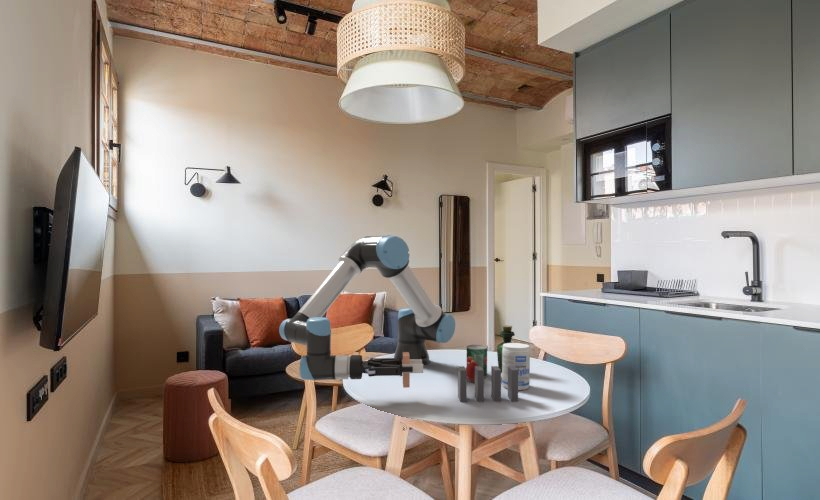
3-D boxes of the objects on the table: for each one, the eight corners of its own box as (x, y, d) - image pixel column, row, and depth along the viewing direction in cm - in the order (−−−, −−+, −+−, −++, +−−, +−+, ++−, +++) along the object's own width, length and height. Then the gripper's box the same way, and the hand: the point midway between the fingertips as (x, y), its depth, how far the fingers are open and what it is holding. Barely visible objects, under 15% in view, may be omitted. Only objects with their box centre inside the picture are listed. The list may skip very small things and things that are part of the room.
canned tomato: (491, 376, 177) (491, 347, 177) (475, 379, 173) (475, 349, 173) (478, 371, 184) (478, 343, 184) (462, 374, 180) (462, 346, 180)
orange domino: (403, 387, 147) (403, 355, 147) (402, 382, 152) (402, 352, 152) (409, 387, 147) (409, 355, 147) (408, 382, 152) (408, 352, 152)
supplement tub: (519, 392, 157) (520, 349, 157) (496, 386, 164) (496, 345, 164) (534, 386, 164) (535, 345, 164) (511, 381, 171) (512, 341, 171)
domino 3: (494, 401, 148) (494, 370, 148) (491, 396, 153) (491, 366, 153) (500, 401, 148) (501, 370, 148) (497, 396, 153) (497, 366, 153)
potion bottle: (499, 374, 180) (500, 328, 180) (494, 369, 188) (494, 324, 188) (520, 374, 181) (520, 327, 180) (513, 368, 189) (514, 324, 189)
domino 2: (477, 401, 148) (477, 370, 148) (474, 396, 153) (474, 366, 153) (483, 401, 148) (483, 370, 148) (480, 396, 153) (480, 366, 153)
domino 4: (511, 401, 148) (511, 370, 148) (507, 396, 153) (507, 366, 153) (517, 401, 148) (518, 370, 148) (513, 396, 153) (513, 366, 153)
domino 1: (460, 402, 148) (460, 370, 148) (457, 396, 153) (458, 366, 153) (466, 401, 148) (466, 370, 148) (463, 396, 153) (464, 366, 153)
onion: (479, 380, 172) (480, 358, 172) (482, 384, 167) (482, 362, 167) (464, 379, 172) (464, 358, 172) (466, 384, 167) (466, 362, 167)
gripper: (352, 371, 158) (420, 370, 159) (347, 387, 140) (424, 386, 141) (351, 349, 157) (420, 348, 158) (347, 362, 139) (424, 361, 140)
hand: (422, 365), depth 149 cm, fingers closed on orange domino, 5 cm apart
